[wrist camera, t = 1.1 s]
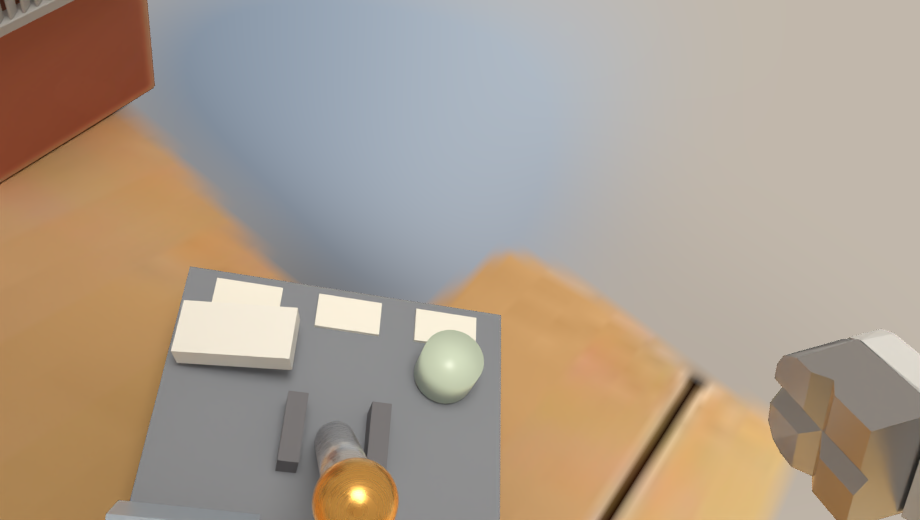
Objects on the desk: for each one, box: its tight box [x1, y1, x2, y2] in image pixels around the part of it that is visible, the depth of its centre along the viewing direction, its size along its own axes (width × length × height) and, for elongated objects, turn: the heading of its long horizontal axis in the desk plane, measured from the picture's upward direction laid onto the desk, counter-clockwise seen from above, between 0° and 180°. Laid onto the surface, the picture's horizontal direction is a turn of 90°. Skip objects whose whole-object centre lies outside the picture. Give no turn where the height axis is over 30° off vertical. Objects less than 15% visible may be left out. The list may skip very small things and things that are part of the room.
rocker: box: [171, 300, 300, 370], centre depth 36 cm, size 3×5×1 cm, turn 88°
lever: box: [312, 421, 399, 520], centre depth 29 cm, size 3×3×14 cm
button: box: [414, 330, 484, 404], centre depth 39 cm, size 3×3×2 cm
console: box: [130, 267, 501, 520], centre depth 38 cm, size 16×16×8 cm
